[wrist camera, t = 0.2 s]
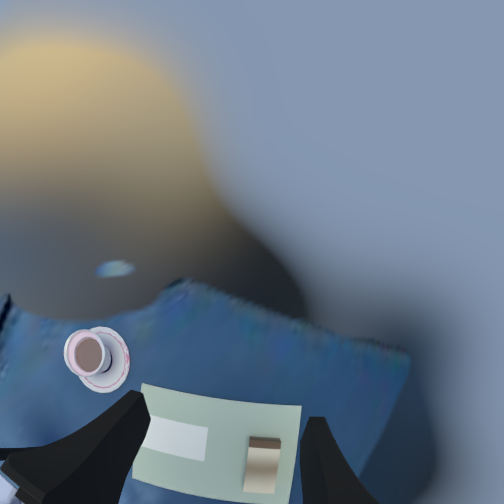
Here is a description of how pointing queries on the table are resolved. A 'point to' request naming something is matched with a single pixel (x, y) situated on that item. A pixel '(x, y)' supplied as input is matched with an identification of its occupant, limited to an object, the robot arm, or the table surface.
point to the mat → (213, 444)
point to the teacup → (98, 358)
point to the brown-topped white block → (262, 465)
